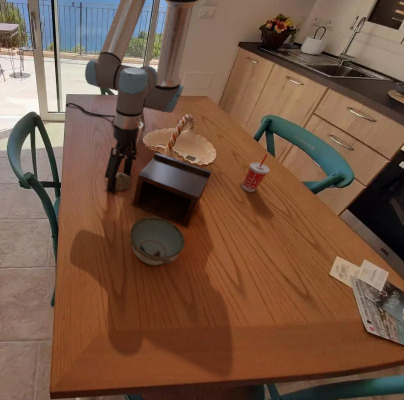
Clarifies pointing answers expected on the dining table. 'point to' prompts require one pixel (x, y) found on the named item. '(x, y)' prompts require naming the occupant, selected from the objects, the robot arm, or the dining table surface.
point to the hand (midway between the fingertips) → (119, 182)
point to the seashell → (122, 181)
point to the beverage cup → (255, 175)
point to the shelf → (170, 188)
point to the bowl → (156, 240)
